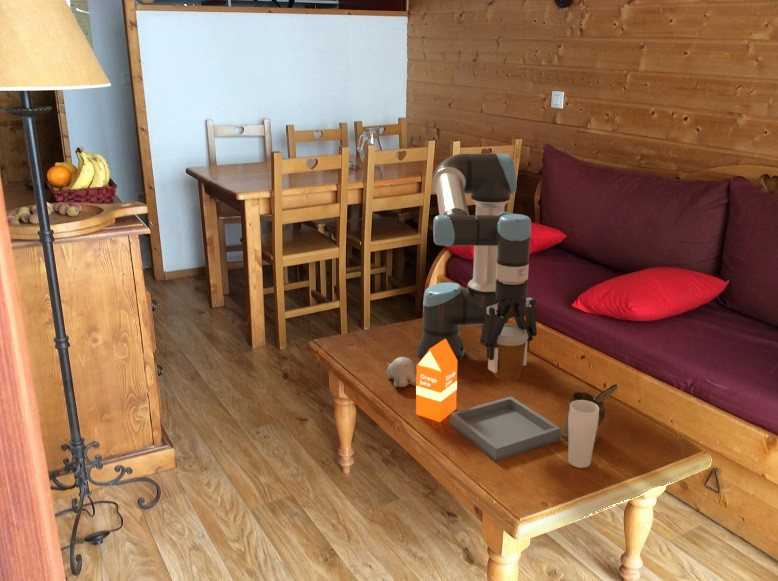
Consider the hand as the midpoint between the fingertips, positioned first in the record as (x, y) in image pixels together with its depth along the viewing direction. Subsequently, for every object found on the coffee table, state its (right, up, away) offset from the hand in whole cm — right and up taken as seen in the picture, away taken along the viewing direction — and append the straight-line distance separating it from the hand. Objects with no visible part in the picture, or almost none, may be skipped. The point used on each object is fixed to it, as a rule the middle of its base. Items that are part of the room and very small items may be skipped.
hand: (507, 367), depth 174 cm
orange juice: (-16, -14, +17) cm, 27 cm away
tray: (0, -18, +6) cm, 19 cm away
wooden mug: (+20, -19, +2) cm, 28 cm away
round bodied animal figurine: (-26, -9, +34) cm, 44 cm away
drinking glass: (+16, -22, -8) cm, 28 cm away
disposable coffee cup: (0, -2, +1) cm, 3 cm away
